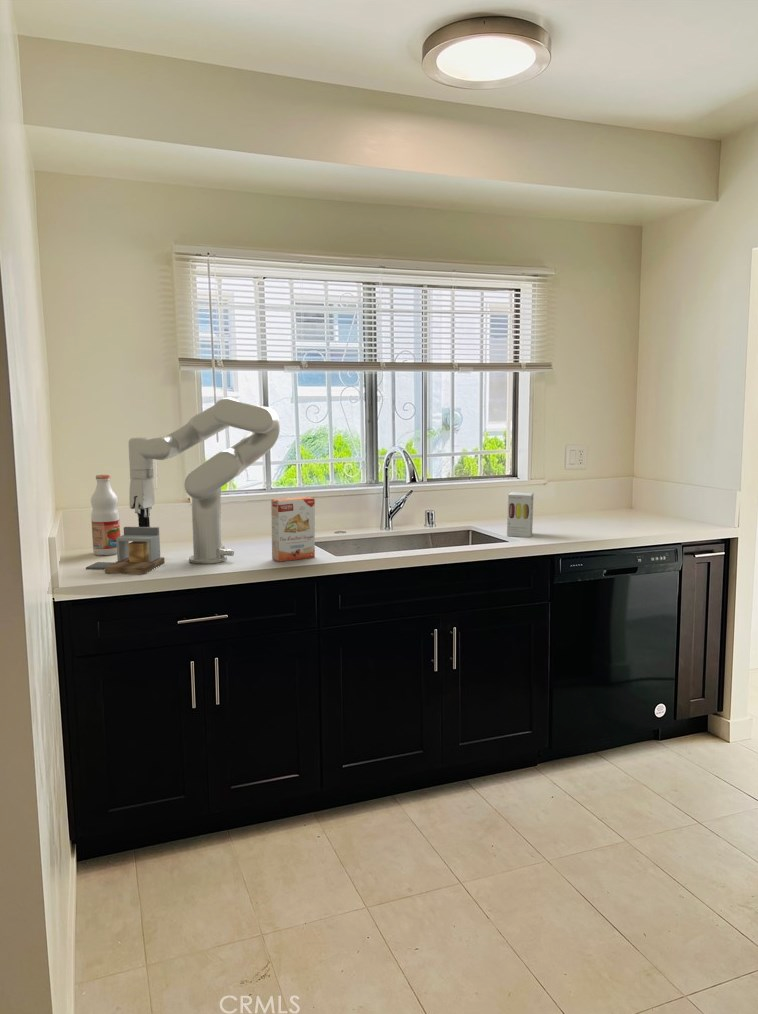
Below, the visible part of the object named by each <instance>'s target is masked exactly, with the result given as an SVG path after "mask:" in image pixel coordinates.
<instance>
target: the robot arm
mask: <svg viewBox="0 0 758 1014" xmlns="http://www.w3.org/2000/svg"><path fill="white" fill-rule="evenodd" d="M230 427H232V428H234V429H235V428H236V429H238V430H244V431H248V432H250V433H249V434H248V435H246V436H245V437H244V438H242V439H241V440H240V441H238V442H237V443H235V444H234V445H232V446H231V447H229V448H227V449H225V450H221V451H219V452H218V453H216V454H215V455H213V456H212V457H210V458H209V459H208V460H206V461H205V462H204V463H202V464H200V465H199V466H198V467H196V468H195V469H194V470H192V471H190V473H188V474H187V476H186V477H185V480H184V490H185V493H187V494H188V496H189V497H191V518H192V519H191V520H192V521H191V523H192V544H193V545H192V546H193V547H192V548H193V551H192V552H193V555H191V556H189V558H188V562H190V563H193V564H203V565H206V564H207V565H208V564H217V563H222V562H224V561H227V560H228V557H233V556H234V554H235V550H233V549H226V548H225V545H223V543H222V541H223V540H222V537H223V536H222V512H221V511H222V509H221V508H222V506H221V505H222V503H221V501H222V500H221V499H222V497H221V496H222V488H223V487H224V486H225V485H226V484H228V483H230V482H231V481H232V480H233V479H235V478H237V477H238V476H240V475H241V474H242V472H244V471H245V470H246V469H247V468H249V467H250V466H251V465H253V464H254V463H256V462H257V461H258V460H259V459H261V458H262V457H264V456H265V455H266V454H267V453H268V452H270V450H271V449H273V447H274V445H275V444H276V443H277V440H278V439H279V436H280V431H281V428H280V427H281V426H280V418H279V416H278V413H277V412H276V411H275V410H274V409H272V408H271V407H269V406H259V405H254V404H250V403H245V402H241V401H239V400H237V399H236V398H233V397H224V398H220V399H219V400H217V401H216V402H215V404H214V405H212V406H210V407H208V408H207V409H204V410H203V411H201V412H199V413H198V414H195V415H194V416H192V417H191V418H190V419H189V421H188V422H187V423H186V424H184V425H183V426H182V427H180V428H178V429H176V430H174V431H172V432H171V433H169V434H167V435H165V436H160V437H155V438H154V437H153V438H150V437H132V438H130V439H129V440H128V459H129V460H128V461H129V462H128V463H129V465H128V466H129V480H130V482H129V494H128V495H129V497H128V498H129V509H130V510H134V513H135V514H137V518H138V519H137V520H138V527H151V525H150V515H151V510H152V507H153V506H154V505H155V489H154V481H153V480H154V478H155V477H154V460H156V461H157V460H158V461H165V460H169V459H172V458H174V457H176V456H178V455H181V454H182V453H183V452H185V451H187V450H189V449H190V448H193V447H194V446H196V445H198V444H199V443H203V442H204V441H205V440H208V439H209V438H212V437H213V436H215V435H217V434H218V433H220V432H222V431H224V430H225V429H227V428H230Z"/></svg>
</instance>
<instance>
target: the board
mask: <svg viewBox="0 0 758 1014" xmlns="http://www.w3.org/2000/svg"><path fill="white" fill-rule="evenodd" d="M165 562H166V561H165V557H164V556H163V557H161V556H160V558H158V559H156V560H155V561H153V562H149V561H147V562H129V557H128V558H126V559H124V560H121V561H118V560H117V561H115V563H112V564H110V565H108V566H106V567H105V570H104V574H113V573H121V574H123V575H124V574H125V575H146V574H148V573H149V572H152V571H153V570H155V569H157V568H159V567H161V566H162V565H164V564H165ZM158 566H159V567H158ZM156 567H157V568H156ZM154 568H155V569H154ZM152 569H153V570H152ZM147 572H148V573H147Z"/></svg>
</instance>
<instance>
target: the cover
mask: <svg viewBox="0 0 758 1014" xmlns="http://www.w3.org/2000/svg"><path fill="white" fill-rule="evenodd" d="M116 541H117V554H116V557H117V561H121V560H124V559H126V558H128V557H129V545H128V543H130V542H133V541H148V543H149V562H153V561H155V560H156V559H158V558H160V557H161V544H160V543H161V541H160V526H150V527H139V526H124V527H123V535H120V537H117V538H116Z"/></svg>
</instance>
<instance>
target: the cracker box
mask: <svg viewBox="0 0 758 1014" xmlns="http://www.w3.org/2000/svg"><path fill="white" fill-rule="evenodd" d="M315 501H316V499H315V498H314V497H309V496H299V497H287V498H286V497H285V498H284V497H283V498H275V499H271V501H270V503H271V507H270V508H271V559H272V560H275V561H277V562H279V563H280V562H287V561H288V562H289V561H295V560H305V559H312V558H315V557H316V556H315V553H316V551H315V549H316V548H315V546H316V544H315V543H316V541H315V540H316V539H315V538H316V537H315V536H316V531H315V530H316V528H315V527H316V526H315V519H316V518H315V516H316V515H315V512H316V511H315V504H316V503H315Z"/></svg>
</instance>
